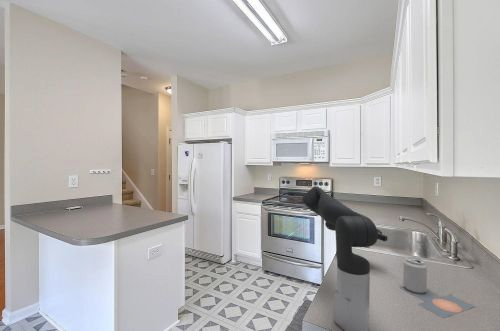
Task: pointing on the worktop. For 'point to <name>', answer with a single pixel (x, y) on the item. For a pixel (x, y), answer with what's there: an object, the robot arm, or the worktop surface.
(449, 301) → the t mat
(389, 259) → the worktop surface
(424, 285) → the can
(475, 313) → the worktop surface
